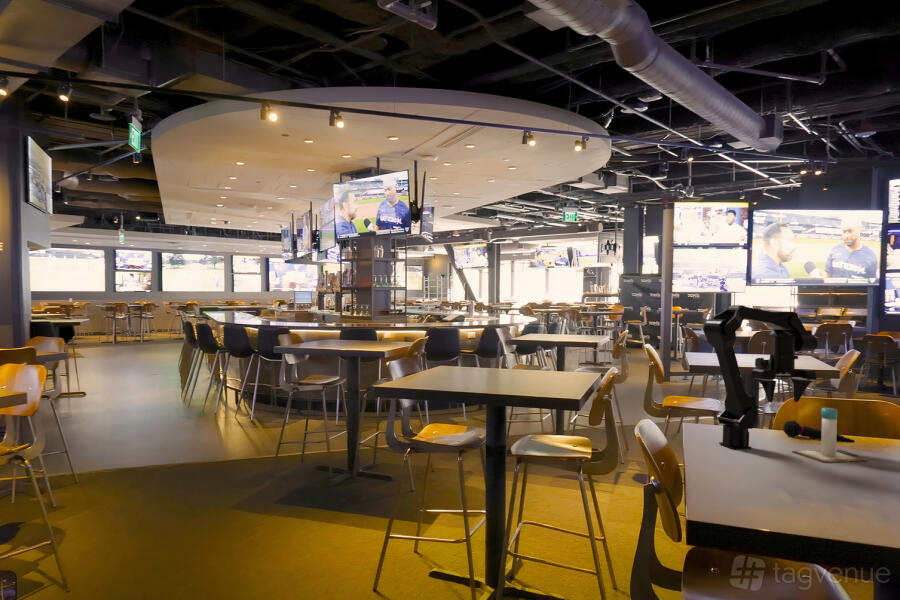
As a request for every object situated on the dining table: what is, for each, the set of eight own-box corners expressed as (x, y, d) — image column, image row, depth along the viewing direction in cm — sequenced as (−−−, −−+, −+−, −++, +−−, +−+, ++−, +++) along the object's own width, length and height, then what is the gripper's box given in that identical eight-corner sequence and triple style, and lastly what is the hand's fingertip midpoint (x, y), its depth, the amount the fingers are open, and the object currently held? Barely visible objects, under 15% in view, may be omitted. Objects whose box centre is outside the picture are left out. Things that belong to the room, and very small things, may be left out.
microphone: (850, 451, 183) (780, 436, 190) (852, 433, 185) (782, 419, 192) (856, 449, 178) (784, 434, 185) (857, 431, 180) (786, 417, 187)
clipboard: (823, 462, 155) (823, 458, 155) (792, 452, 166) (792, 448, 166) (866, 461, 158) (866, 457, 158) (833, 451, 169) (833, 447, 169)
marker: (833, 457, 159) (834, 410, 159) (818, 453, 162) (819, 408, 162) (838, 454, 162) (839, 409, 162) (823, 452, 165) (824, 407, 165)
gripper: (790, 349, 186) (789, 397, 186) (739, 349, 183) (738, 397, 183) (818, 352, 175) (817, 403, 175) (765, 352, 172) (764, 404, 172)
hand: (783, 402), depth 176 cm, fingers open, 9 cm apart
